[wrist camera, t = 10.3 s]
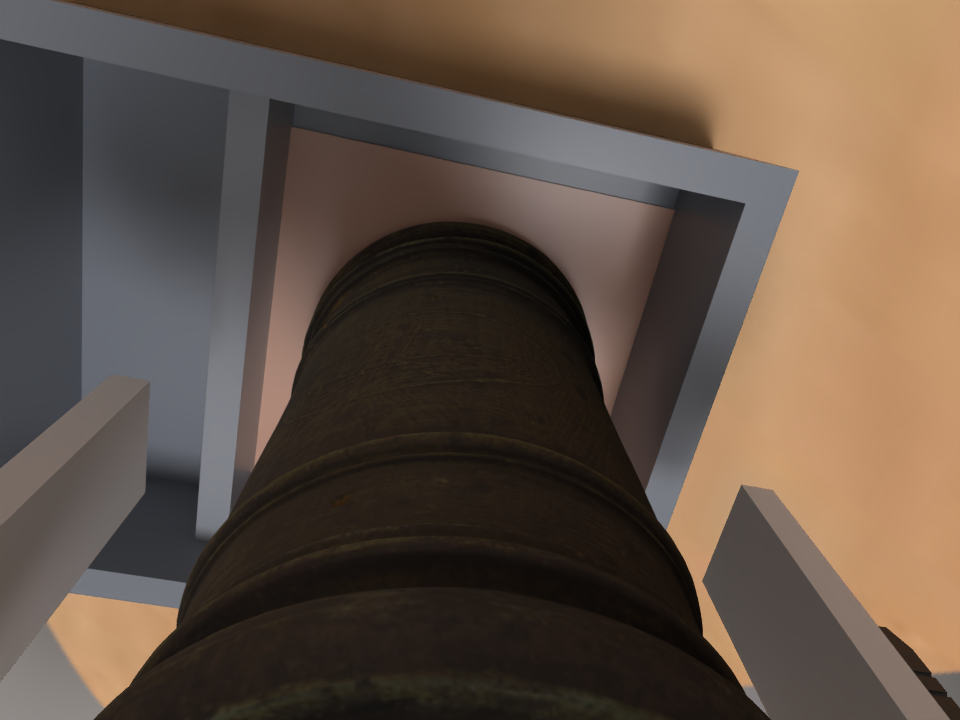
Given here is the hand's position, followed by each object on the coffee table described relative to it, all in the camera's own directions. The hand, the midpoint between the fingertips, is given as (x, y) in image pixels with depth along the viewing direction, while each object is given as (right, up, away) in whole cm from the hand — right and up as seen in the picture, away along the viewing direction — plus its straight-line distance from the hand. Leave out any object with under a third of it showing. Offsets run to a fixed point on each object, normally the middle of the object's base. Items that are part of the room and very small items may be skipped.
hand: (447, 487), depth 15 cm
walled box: (-3, +4, +9) cm, 10 cm away
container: (0, +3, +8) cm, 9 cm away
